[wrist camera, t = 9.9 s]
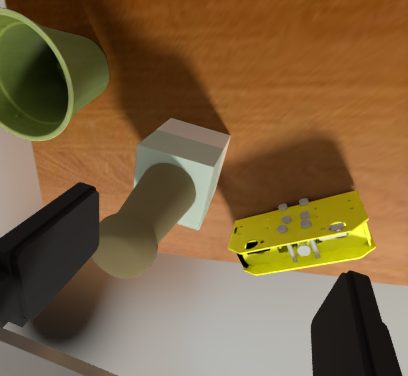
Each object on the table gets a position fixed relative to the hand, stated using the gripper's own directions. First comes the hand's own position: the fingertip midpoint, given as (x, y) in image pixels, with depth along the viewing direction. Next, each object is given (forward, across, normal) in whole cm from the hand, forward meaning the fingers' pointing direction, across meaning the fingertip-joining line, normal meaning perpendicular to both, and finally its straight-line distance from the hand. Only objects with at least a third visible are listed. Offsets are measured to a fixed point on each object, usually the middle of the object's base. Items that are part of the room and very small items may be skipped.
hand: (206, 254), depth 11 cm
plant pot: (+26, +23, +1) cm, 35 cm away
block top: (+22, +7, +9) cm, 24 cm away
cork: (+17, +7, +9) cm, 20 cm away
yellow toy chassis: (+27, -8, +14) cm, 32 cm away
